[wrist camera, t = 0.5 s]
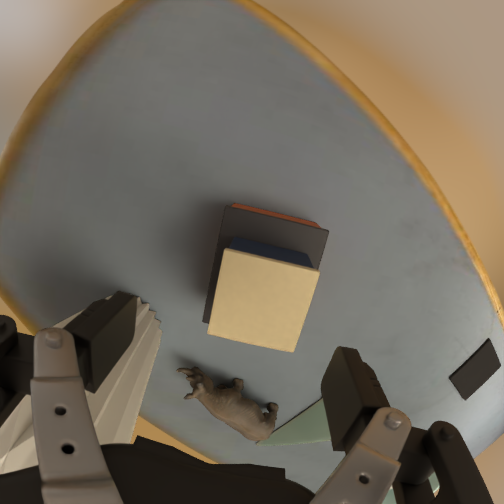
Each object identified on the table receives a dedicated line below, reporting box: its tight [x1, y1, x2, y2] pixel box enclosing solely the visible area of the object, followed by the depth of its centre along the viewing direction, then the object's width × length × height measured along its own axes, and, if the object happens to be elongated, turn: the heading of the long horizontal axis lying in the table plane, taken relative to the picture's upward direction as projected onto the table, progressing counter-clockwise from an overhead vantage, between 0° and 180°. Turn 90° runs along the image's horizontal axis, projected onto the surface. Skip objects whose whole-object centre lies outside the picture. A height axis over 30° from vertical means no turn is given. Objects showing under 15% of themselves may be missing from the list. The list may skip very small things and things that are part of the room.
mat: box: [449, 339, 501, 400], centre depth 32 cm, size 8×8×1 cm
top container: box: [207, 237, 320, 352], centre depth 22 cm, size 6×6×5 cm
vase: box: [0, 293, 162, 474], centre depth 20 cm, size 13×13×26 cm
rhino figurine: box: [177, 367, 278, 441], centre depth 31 cm, size 4×14×6 cm, turn 49°
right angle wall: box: [382, 472, 439, 504], centre depth 35 cm, size 12×12×8 cm
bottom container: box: [202, 203, 329, 324], centre depth 27 cm, size 10×8×5 cm
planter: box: [256, 398, 331, 446], centre depth 35 cm, size 8×6×18 cm
